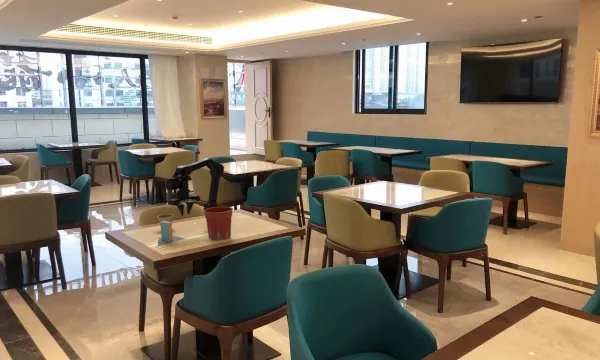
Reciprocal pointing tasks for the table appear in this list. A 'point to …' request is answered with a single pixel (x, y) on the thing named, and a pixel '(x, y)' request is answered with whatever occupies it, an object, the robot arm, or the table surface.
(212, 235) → the flower pot
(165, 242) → the mat
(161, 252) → the table surface
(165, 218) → the flower pot
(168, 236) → the salmon rectangular block
